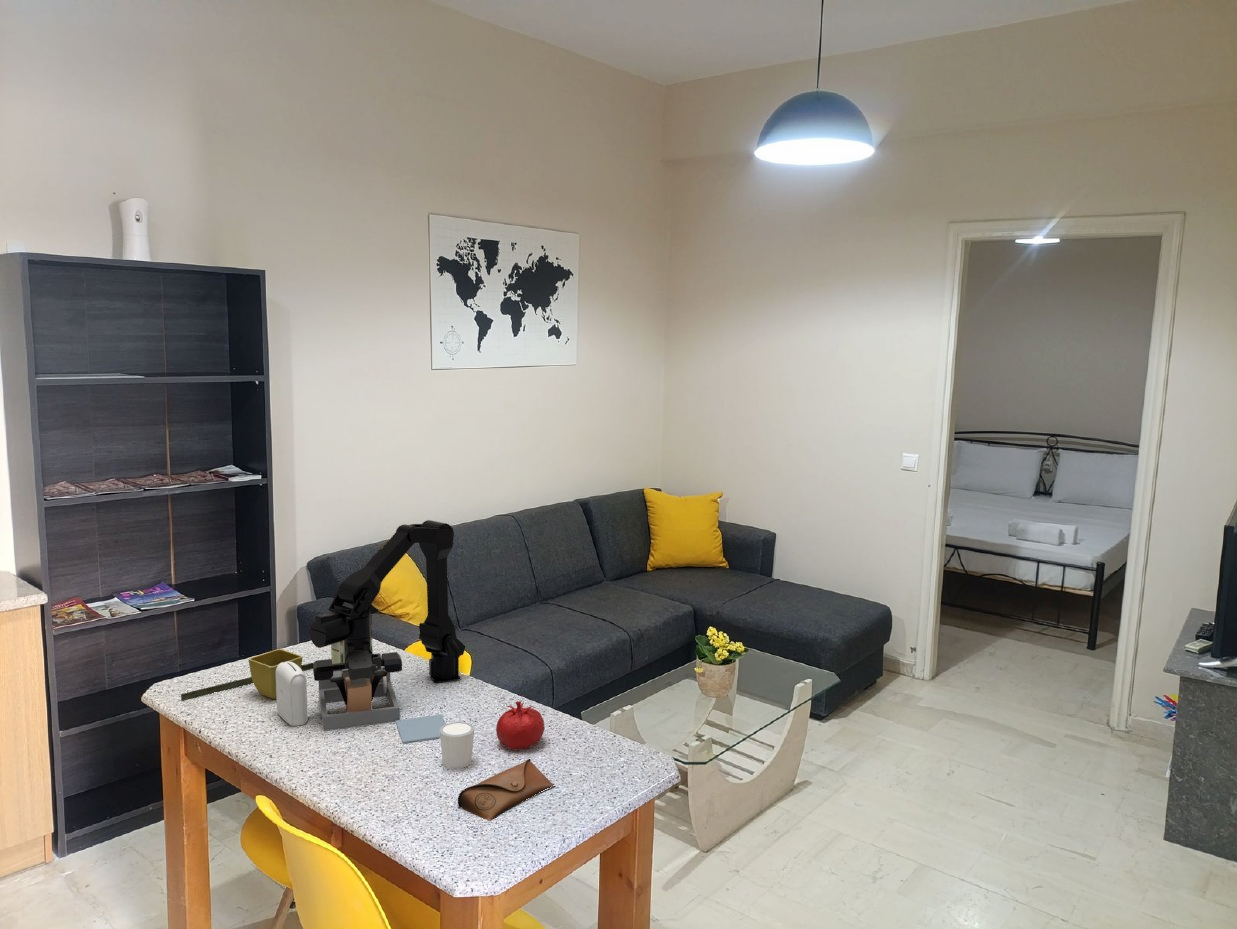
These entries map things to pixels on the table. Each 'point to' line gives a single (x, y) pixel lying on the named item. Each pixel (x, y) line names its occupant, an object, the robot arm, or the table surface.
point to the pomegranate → (520, 727)
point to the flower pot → (270, 669)
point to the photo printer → (291, 693)
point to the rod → (227, 686)
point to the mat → (420, 728)
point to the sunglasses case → (503, 791)
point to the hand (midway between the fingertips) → (358, 702)
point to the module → (358, 694)
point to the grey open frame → (357, 718)
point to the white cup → (457, 744)
